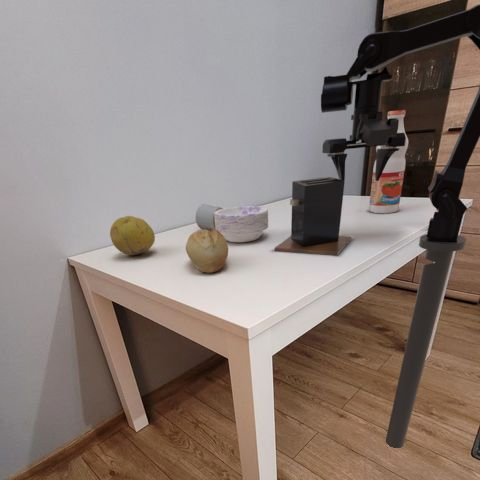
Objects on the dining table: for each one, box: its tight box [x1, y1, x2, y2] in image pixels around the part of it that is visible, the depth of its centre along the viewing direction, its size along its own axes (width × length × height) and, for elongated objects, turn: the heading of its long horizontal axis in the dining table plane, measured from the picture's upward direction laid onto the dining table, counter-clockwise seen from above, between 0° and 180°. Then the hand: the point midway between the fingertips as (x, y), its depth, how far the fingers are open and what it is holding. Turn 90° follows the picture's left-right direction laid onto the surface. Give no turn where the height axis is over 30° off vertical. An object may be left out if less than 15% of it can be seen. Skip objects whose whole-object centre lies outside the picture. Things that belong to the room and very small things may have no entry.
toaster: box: [289, 176, 346, 247], centre depth 84 cm, size 12×7×14 cm, turn 106°
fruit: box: [109, 215, 156, 256], centre depth 91 cm, size 11×12×10 cm
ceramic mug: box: [195, 203, 224, 231], centre depth 110 cm, size 11×8×8 cm
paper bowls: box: [214, 205, 269, 243], centre depth 97 cm, size 15×15×8 cm
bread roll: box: [185, 228, 229, 274], centre depth 79 cm, size 10×15×8 cm, turn 17°
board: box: [274, 235, 352, 256], centre depth 88 cm, size 16×14×1 cm
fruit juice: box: [368, 109, 409, 214], centre depth 108 cm, size 9×9×28 cm
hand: (359, 182), depth 87 cm, fingers open, 9 cm apart
